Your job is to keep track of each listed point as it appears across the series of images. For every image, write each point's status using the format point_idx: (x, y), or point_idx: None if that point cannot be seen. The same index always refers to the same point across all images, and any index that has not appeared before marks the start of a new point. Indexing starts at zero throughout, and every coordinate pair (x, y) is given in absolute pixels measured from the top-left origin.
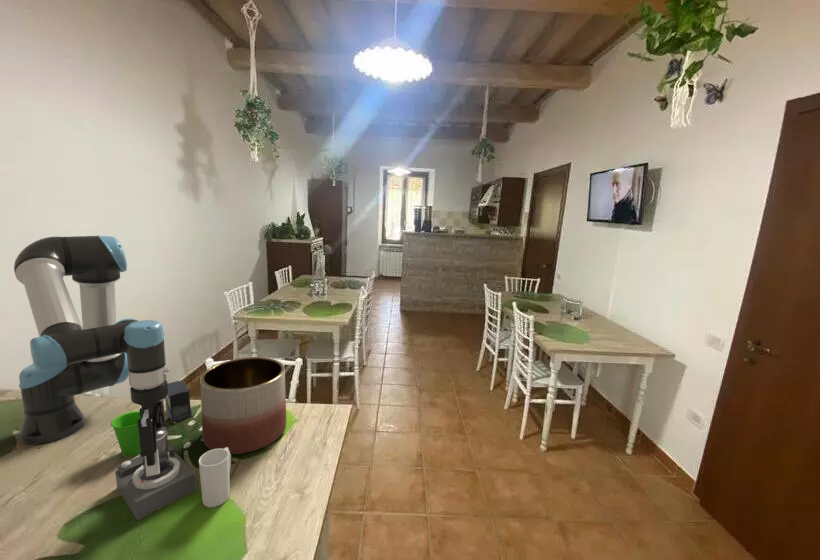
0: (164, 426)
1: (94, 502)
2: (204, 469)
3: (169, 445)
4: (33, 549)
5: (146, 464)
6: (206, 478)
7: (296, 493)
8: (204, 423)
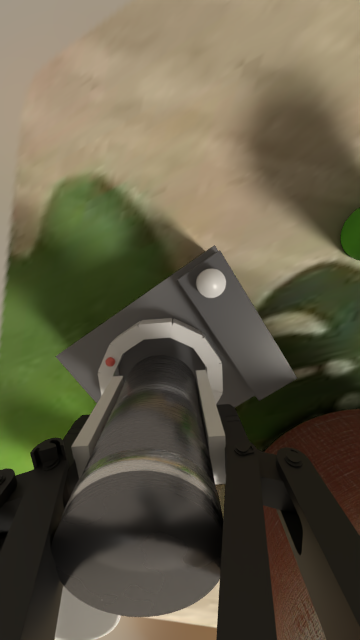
0: (278, 511)
1: (163, 216)
2: None
3: (287, 382)
4: (29, 143)
5: (98, 406)
6: None
7: None
8: (358, 490)
